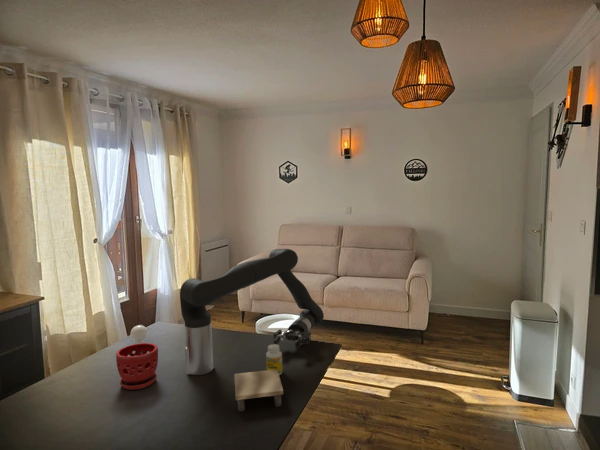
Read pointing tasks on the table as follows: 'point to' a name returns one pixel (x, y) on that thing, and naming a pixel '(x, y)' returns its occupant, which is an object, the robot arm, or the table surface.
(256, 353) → the table surface
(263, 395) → the peg shelf
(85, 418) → the table surface
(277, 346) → the supplement bottle
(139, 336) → the lightbulb
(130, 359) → the plant pot
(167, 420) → the table surface
